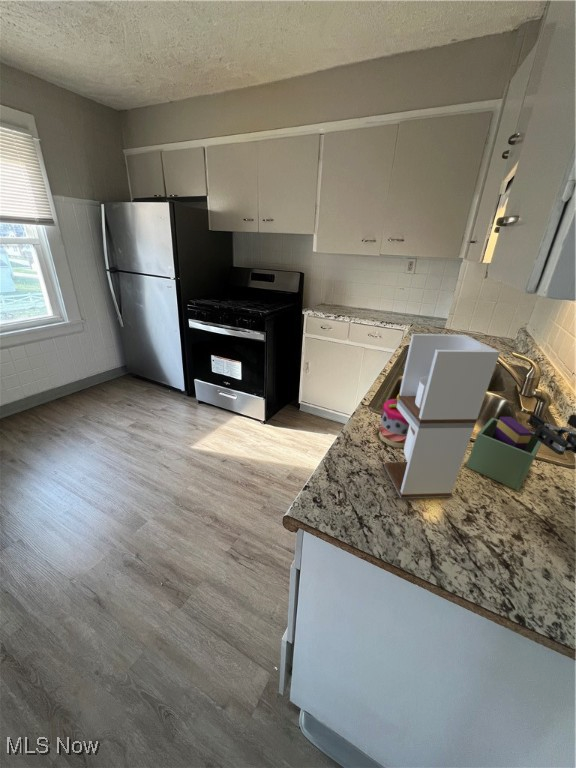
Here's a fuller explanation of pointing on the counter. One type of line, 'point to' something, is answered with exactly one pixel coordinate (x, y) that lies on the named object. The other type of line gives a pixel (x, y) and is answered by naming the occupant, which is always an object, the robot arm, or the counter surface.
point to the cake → (393, 425)
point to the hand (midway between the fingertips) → (550, 418)
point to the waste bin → (501, 457)
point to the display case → (439, 410)
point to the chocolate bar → (512, 433)
